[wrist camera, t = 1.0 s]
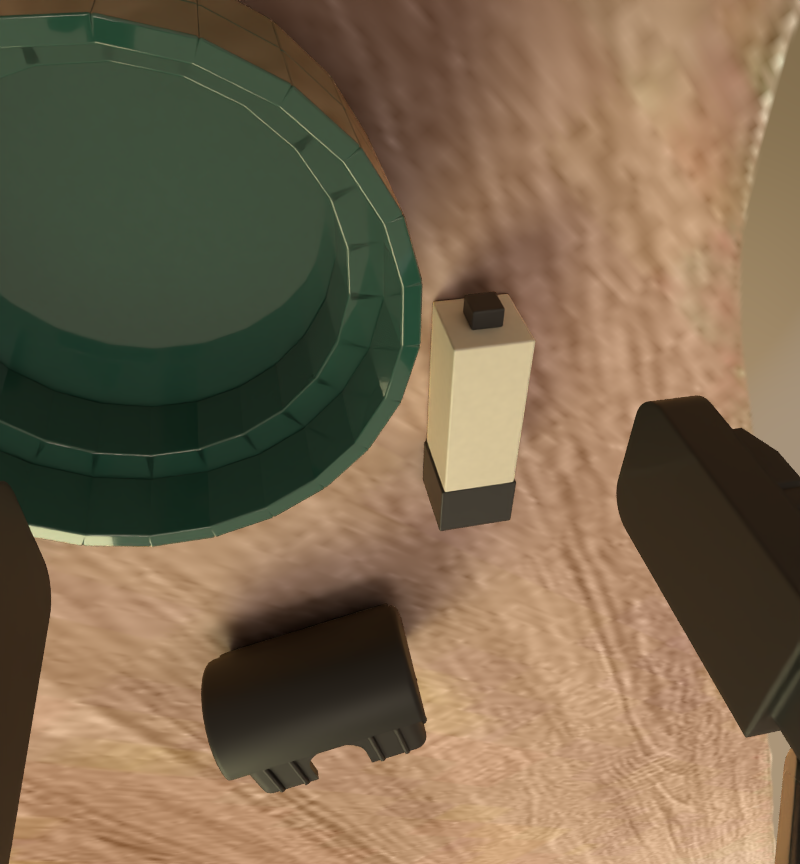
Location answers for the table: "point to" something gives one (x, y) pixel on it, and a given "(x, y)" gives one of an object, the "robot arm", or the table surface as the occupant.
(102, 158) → the bowl
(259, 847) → the table surface
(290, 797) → the table surface
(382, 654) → the end cap
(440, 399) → the marker
